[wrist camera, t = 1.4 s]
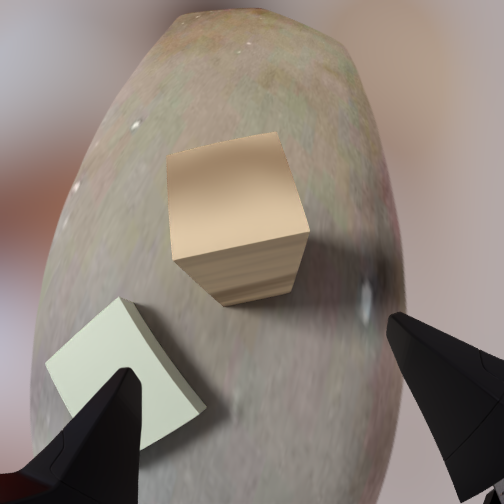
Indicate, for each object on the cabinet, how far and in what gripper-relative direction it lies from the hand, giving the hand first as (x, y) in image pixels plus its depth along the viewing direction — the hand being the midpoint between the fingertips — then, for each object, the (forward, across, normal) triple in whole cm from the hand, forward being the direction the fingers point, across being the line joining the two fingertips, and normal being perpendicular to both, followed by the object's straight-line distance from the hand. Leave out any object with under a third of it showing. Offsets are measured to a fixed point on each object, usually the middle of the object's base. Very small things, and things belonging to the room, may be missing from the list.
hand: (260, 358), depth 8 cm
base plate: (+8, +13, +10) cm, 18 cm away
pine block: (+14, 0, +4) cm, 15 cm away
